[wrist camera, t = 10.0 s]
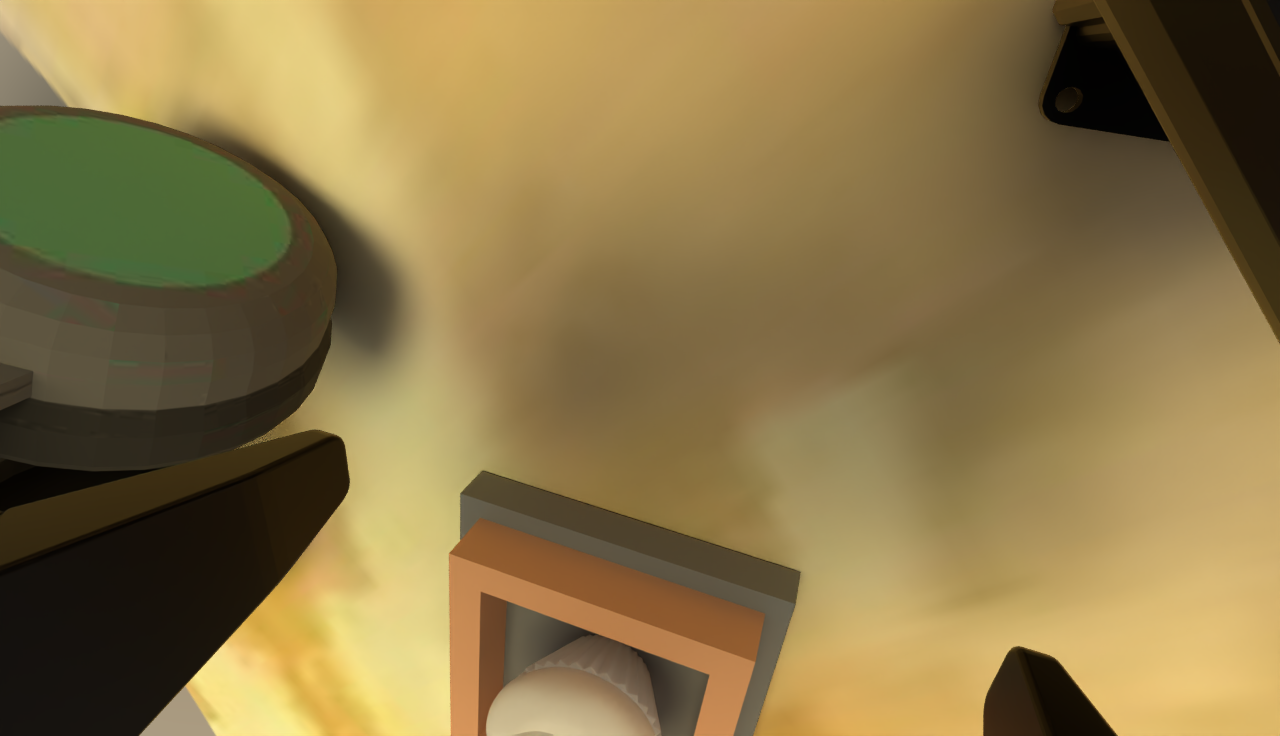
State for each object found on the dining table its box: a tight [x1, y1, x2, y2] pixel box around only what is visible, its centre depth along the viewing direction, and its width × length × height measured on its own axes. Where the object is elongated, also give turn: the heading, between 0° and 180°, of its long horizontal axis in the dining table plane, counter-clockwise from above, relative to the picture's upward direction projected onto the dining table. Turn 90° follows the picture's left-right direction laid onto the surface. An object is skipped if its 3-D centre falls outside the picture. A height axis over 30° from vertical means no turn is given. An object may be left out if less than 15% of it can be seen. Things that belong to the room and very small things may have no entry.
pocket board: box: [449, 471, 800, 736], centre depth 25 cm, size 12×12×4 cm
